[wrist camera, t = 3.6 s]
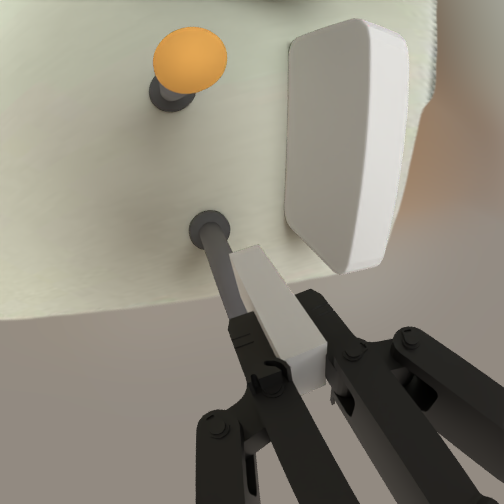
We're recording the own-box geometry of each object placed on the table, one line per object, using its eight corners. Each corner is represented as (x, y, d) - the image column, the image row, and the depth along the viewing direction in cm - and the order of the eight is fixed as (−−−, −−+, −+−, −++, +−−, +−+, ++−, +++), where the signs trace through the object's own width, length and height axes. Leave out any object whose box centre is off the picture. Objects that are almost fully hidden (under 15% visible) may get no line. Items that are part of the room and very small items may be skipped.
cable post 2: (184, 217, 40) (217, 341, 20) (223, 205, 41) (293, 314, 21) (195, 252, 43) (235, 382, 23) (232, 240, 44) (298, 358, 24)
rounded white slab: (323, 216, 48) (392, 272, 33) (282, 221, 46) (344, 284, 31) (333, 48, 33) (422, 37, 18) (287, 40, 31) (369, 13, 16)
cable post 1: (145, 75, 29) (119, 24, 9) (190, 63, 30) (238, 0, 10) (155, 117, 32) (143, 131, 12) (199, 104, 33) (260, 101, 13)
